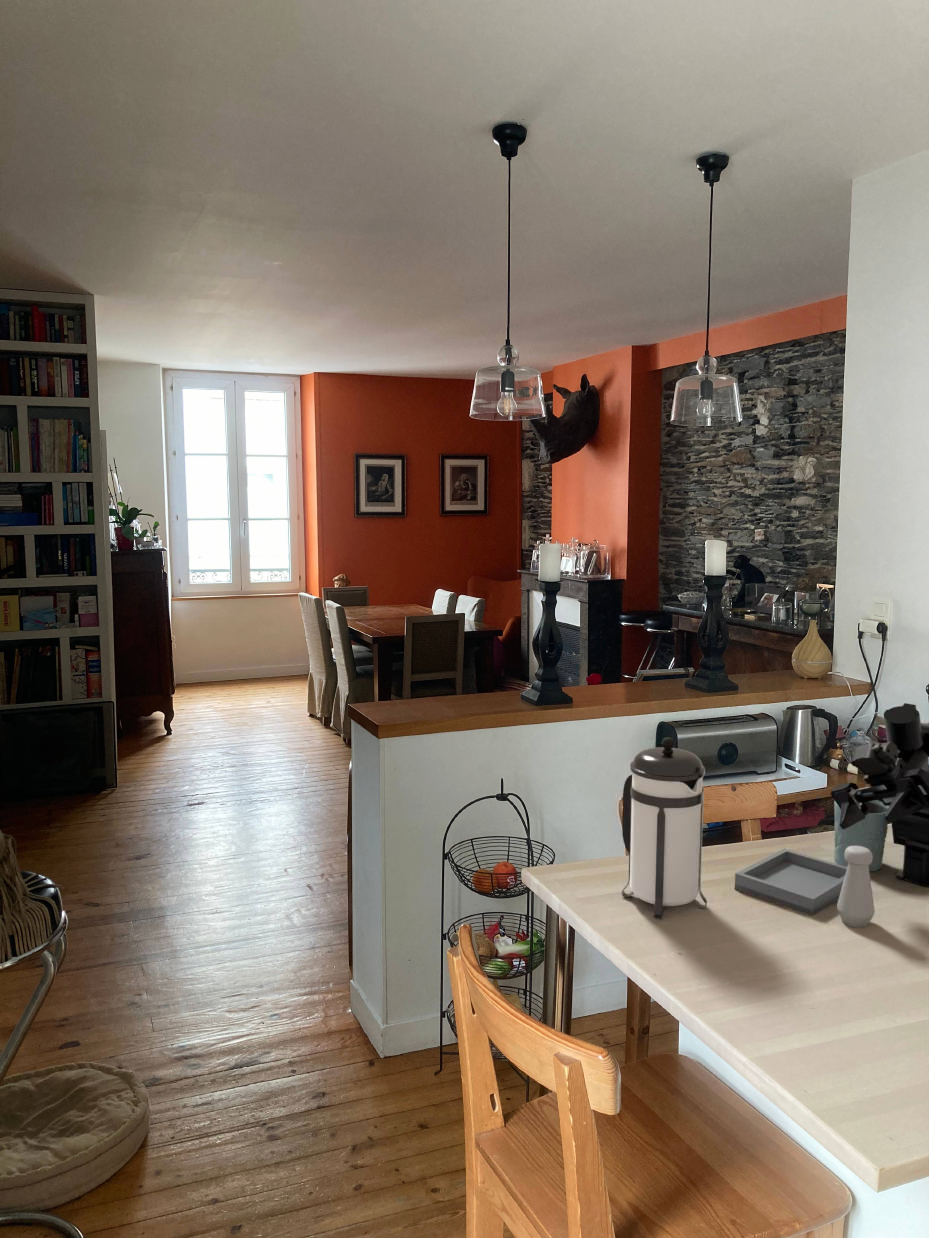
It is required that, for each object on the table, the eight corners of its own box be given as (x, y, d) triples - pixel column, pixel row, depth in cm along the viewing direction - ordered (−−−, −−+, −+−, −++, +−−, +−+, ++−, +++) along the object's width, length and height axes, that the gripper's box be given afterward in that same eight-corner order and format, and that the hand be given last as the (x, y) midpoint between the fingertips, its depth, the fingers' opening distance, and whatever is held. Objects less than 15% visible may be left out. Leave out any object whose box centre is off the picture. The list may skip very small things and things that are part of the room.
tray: (783, 863, 180) (784, 848, 179) (859, 886, 169) (860, 870, 168) (734, 888, 168) (735, 873, 167) (812, 915, 157) (813, 899, 156)
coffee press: (714, 890, 167) (720, 730, 163) (698, 926, 153) (703, 752, 149) (622, 874, 174) (625, 721, 171) (598, 908, 160) (600, 741, 156)
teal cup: (825, 852, 185) (828, 795, 184) (878, 854, 184) (881, 797, 183) (839, 871, 176) (842, 811, 174) (894, 874, 174) (898, 814, 173)
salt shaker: (877, 931, 151) (881, 856, 149) (840, 928, 152) (844, 853, 150) (868, 916, 157) (873, 843, 155) (833, 913, 158) (837, 840, 156)
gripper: (833, 744, 170) (793, 793, 161) (921, 721, 154) (883, 774, 145) (867, 793, 170) (829, 844, 161) (959, 775, 154) (923, 831, 145)
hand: (863, 823), depth 153 cm, fingers open, 9 cm apart
